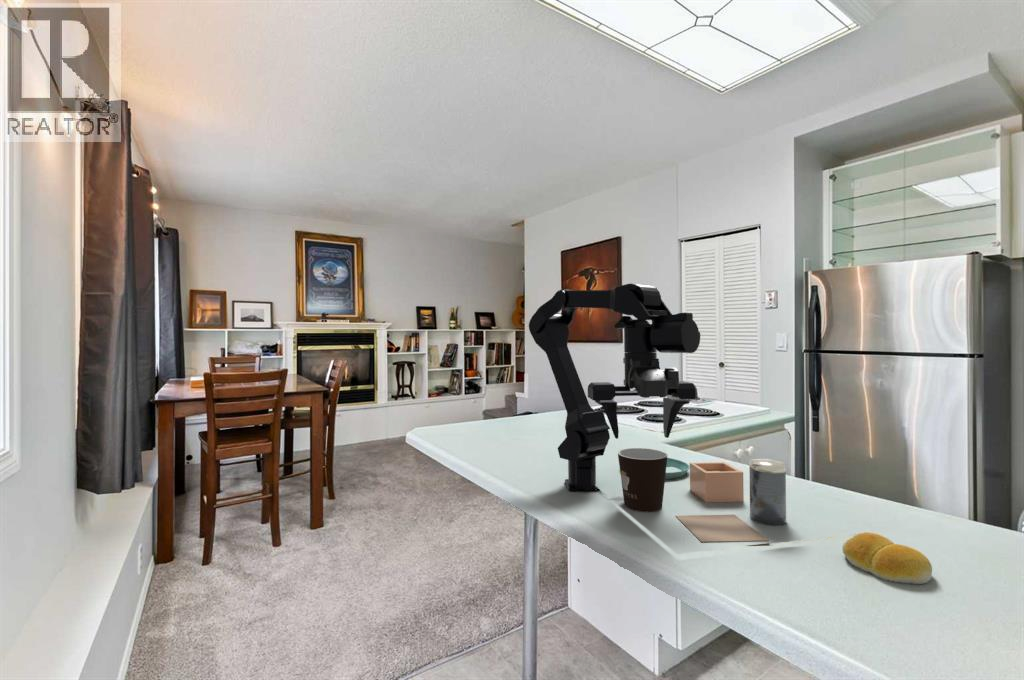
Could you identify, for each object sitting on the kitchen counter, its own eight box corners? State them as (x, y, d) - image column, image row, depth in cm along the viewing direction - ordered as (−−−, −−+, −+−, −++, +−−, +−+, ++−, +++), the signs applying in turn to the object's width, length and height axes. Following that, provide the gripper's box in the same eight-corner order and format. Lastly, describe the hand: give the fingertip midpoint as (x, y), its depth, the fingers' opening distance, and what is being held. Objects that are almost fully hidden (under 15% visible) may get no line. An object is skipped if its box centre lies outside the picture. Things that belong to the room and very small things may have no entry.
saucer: (700, 485, 97) (700, 472, 97) (630, 485, 97) (630, 473, 97) (676, 466, 111) (676, 455, 111) (615, 466, 111) (615, 455, 111)
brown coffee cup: (671, 519, 77) (670, 460, 77) (619, 516, 79) (618, 458, 79) (663, 496, 89) (662, 445, 89) (617, 494, 90) (616, 443, 90)
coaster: (675, 520, 77) (675, 515, 77) (734, 519, 77) (734, 514, 77) (701, 547, 67) (701, 541, 67) (769, 545, 67) (769, 540, 67)
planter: (690, 493, 91) (689, 462, 91) (725, 492, 91) (724, 462, 91) (705, 505, 84) (705, 472, 84) (743, 505, 84) (743, 472, 84)
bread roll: (908, 593, 55) (907, 559, 55) (832, 560, 63) (832, 531, 63) (950, 579, 57) (949, 548, 57) (872, 550, 66) (871, 522, 66)
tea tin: (743, 517, 78) (743, 458, 78) (774, 517, 78) (773, 458, 78) (761, 530, 73) (760, 467, 73) (793, 529, 73) (792, 466, 73)
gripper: (598, 354, 76) (600, 449, 76) (710, 353, 76) (712, 447, 76) (586, 353, 87) (587, 435, 87) (684, 351, 87) (685, 433, 87)
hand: (641, 437), depth 84 cm, fingers open, 9 cm apart
